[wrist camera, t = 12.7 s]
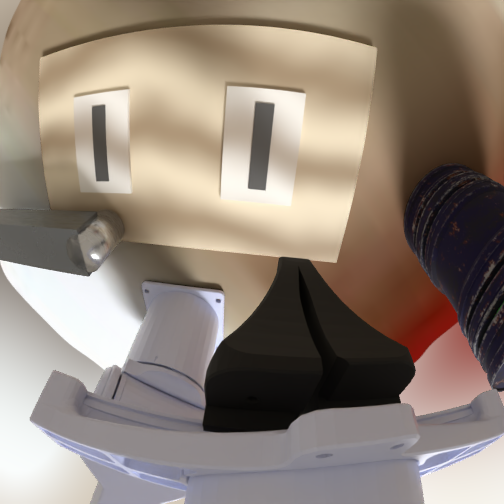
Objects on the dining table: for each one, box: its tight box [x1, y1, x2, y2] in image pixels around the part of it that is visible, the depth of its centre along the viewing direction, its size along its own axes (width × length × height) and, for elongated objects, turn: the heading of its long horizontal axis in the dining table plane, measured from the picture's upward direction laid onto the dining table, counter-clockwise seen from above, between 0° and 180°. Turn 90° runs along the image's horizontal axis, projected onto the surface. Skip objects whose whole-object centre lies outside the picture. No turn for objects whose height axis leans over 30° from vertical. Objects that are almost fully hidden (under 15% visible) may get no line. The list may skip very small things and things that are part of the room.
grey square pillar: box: [0, 209, 125, 277], centre depth 20 cm, size 17×4×4 cm, turn 86°
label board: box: [39, 25, 377, 263], centre depth 18 cm, size 17×26×1 cm, turn 85°
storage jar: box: [404, 163, 504, 392], centre depth 14 cm, size 10×10×15 cm
